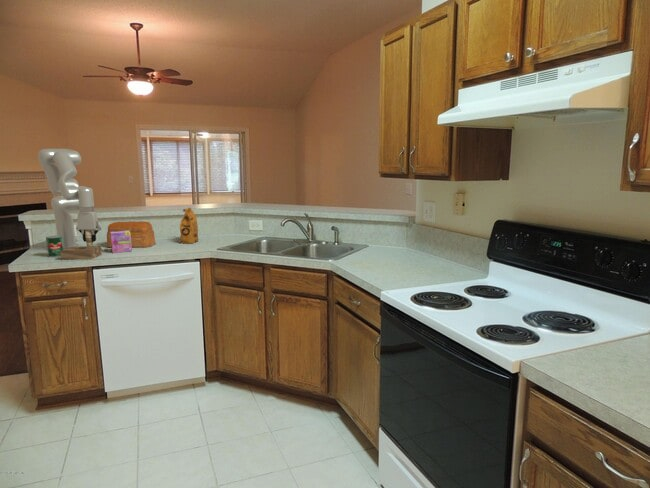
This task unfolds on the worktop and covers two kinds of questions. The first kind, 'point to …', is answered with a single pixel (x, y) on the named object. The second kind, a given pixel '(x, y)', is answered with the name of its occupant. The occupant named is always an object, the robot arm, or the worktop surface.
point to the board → (80, 252)
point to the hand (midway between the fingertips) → (89, 240)
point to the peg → (88, 237)
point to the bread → (134, 233)
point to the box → (121, 241)
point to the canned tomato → (54, 245)
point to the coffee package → (189, 227)
